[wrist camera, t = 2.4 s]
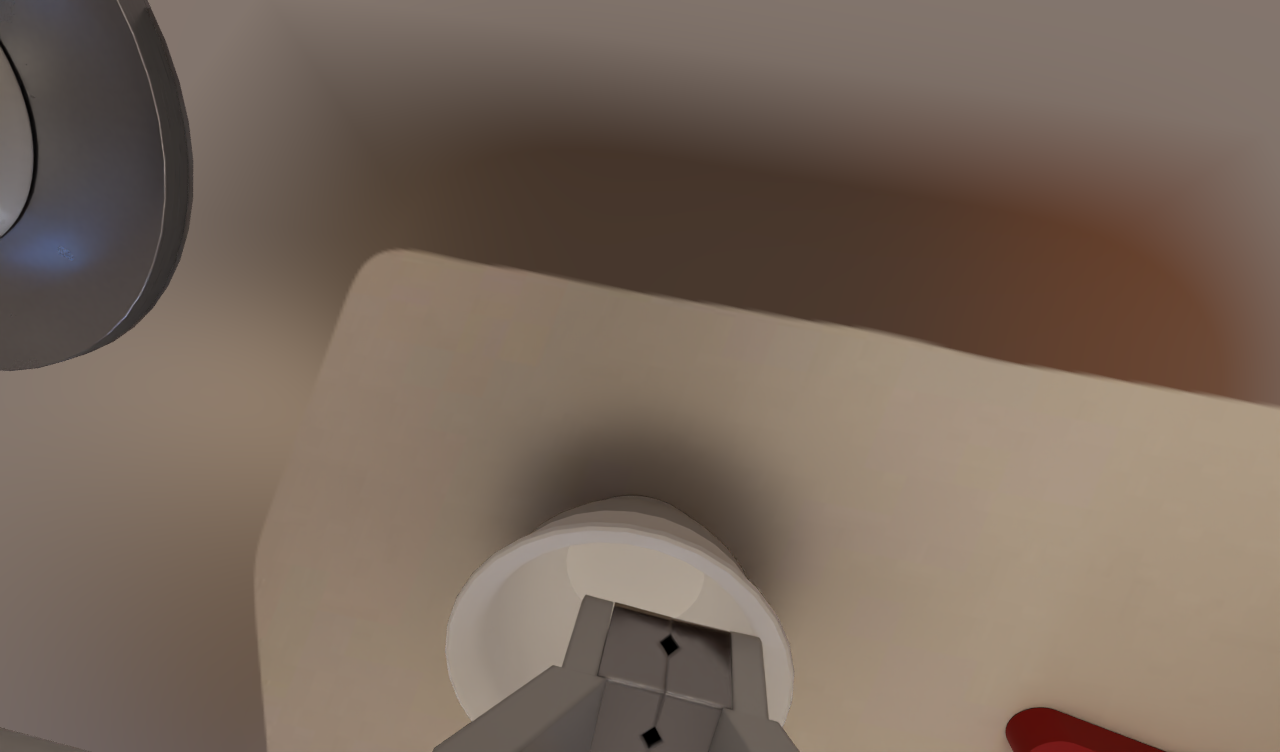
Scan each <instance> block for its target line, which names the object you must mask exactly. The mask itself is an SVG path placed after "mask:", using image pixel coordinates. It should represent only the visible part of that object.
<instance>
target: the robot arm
mask: <svg viewBox="0 0 1280 752" xmlns="http://www.w3.org/2000/svg"><path fill="white" fill-rule="evenodd" d="M32 174H33V141H32V132H31V126H30V121H29V117H28V112H27V108H26V105H25V102H24V98H23V95H22V92H21V89H20V87H19V84H18V82H17V79H16V77H15V74H14V72H13V70H12V68H11V66H10V63H9V61H8V59H7V57H6V56H5V54H4V52H3V50H2V48H1V46H0V237H1V236H2V235H3V234H5V233H6V232H7V231H8V230H9V229H10V228H11V226H12V225H13V224H14V223H15V221H16V220H17V218H18V217H19V215H20V213H21V212H22V209H23V207H24V205H25V203H26V200H27V197H28V194H29V190H30V186H31V181H32ZM613 605H614V608H613ZM612 609H613V612H612ZM611 614H612V616H611ZM610 618H611V620H610ZM609 623H610V624H609ZM607 632H608V633H607ZM0 752H90V751H87V750H83V749H79V748H76V747H72V746H68V745H64V744H60V743H57V742H53V741H49V740H46V739H42V738H38V737H34V736H31V735H27V734H23V733H20V732H15V731H12V730H8V729H5V728H1V727H0ZM433 752H800V751H799V750H798V749H797V747H796V746H795V744H794V743H793V742H792V740H791V739H790V738H789V736H788V735H787V733H786V732H785V731H784V729H783V728H782V727H781V725H780V724H779V722H777V721H773V720H769V715H768V704H767V692H766V681H765V670H764V659H763V648H762V641H761V640H760V638H759V637H756V636H752V635H747V634H743V633H738V632H734V631H726V630H722V629H718V628H714V627H710V626H706V625H701V624H697V623H693V622H689V621H685V620H681V619H676V618H672V617H669V616H665V615H661V614H658V613H654V612H650V611H647V610H643V609H639V608H636V607H632V606H628V605H625V604H621V603H617V602H615V604H614V603H613V602H612V601H608V600H604V599H601V598H597V597H593V596H589V595H585V596H584V598H583V600H582V603H581V606H580V609H579V612H578V615H577V619H576V622H575V625H574V628H573V632H572V635H571V638H570V641H569V645H568V648H567V651H566V654H565V658H564V661H563V664H562V667H559V666H555V665H552V666H551V667H549V668H548V669H546V670H545V671H544V672H542V673H541V674H539V675H538V676H536V677H535V678H534V679H532V680H531V681H529V682H528V683H526V684H525V685H524V686H522V687H521V688H519V689H518V690H516V691H515V692H513V693H512V694H511V695H509V696H508V697H506V698H505V699H503V700H502V701H501V702H499V703H498V704H496V705H495V706H493V707H492V708H491V709H489V710H488V711H486V712H485V713H483V714H482V715H481V716H479V717H478V718H476V719H475V720H473V721H472V722H471V723H469V724H468V725H466V726H465V727H463V728H462V729H461V730H459V731H458V732H456V733H455V734H453V735H452V736H451V737H449V738H448V739H446V740H445V741H443V742H442V743H441V744H439V745H438V746H436V747H435V748H434V749H433Z"/></svg>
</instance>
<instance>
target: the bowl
mask: <svg viewBox="0 0 1280 752" xmlns="http://www.w3.org/2000/svg"><path fill="white" fill-rule="evenodd" d="M585 595H589V596H593V597H597V598H601V599H604V600H608V601H612V602H613V603H614V604H615V602H617V603H621V604H625V605H628V606H632V607H636V608H639V609H643V610H647V611H650V612H654V613H658V614H661V615H665V616H669V617H672V618H676V619H681V620H685V621H689V622H693V623H697V624H701V625H706V626H710V627H714V628H718V629H722V630H726V631H734V632H738V633H743V634H747V635H752V636H756V637H759V638H760V640H761V641H762V648H763V659H764V670H765V681H766V692H767V704H768V715H769V720H773V721H777V722H779V724H780V725H781V727H782V728H783V726H784V723H785V720H786V717H787V714H788V712H789V709H790V706H791V703H792V695H793V683H794V667H793V661H792V655H791V649H790V644H789V641H788V639H787V637H786V634H785V632H784V630H783V628H782V625H781V623H780V621H779V618H778V616H777V614H776V613H775V612H774V610H773V609H772V608H771V606H770V605H769V604H768V602H767V601H766V599H765V598H764V597H763V595H762V594H761V593H760V591H759V590H758V589H757V588H756V587H755V586H754V585H753V584H752V583H751V582H750V581H749V580H747V578H746V576H745V574H744V572H743V570H742V568H741V566H740V565H739V563H738V562H737V561H736V559H735V558H734V557H733V555H732V554H731V552H730V551H729V550H728V548H727V547H726V546H725V545H723V544H722V543H721V542H720V541H719V540H718V539H717V538H716V537H715V536H714V535H713V534H711V533H710V532H709V531H708V530H707V529H706V528H704V527H703V526H702V525H701V524H699V523H698V522H696V521H695V520H693V519H691V518H690V517H688V516H687V515H686V514H685V513H684V512H682V511H680V510H679V509H677V508H676V507H674V506H672V505H670V504H668V503H665V502H663V501H660V500H658V499H653V498H649V497H644V496H628V495H627V496H619V497H612V498H609V499H606V500H601V501H595V502H591V503H588V504H585V505H582V506H579V507H576V508H573V509H570V510H567V511H564V512H562V513H560V514H558V515H556V516H555V517H553V518H551V519H549V520H548V521H546V522H544V523H542V524H541V525H540V526H539V527H538V528H537V529H536V530H535V531H533V532H532V533H531V534H530V535H527V536H524V537H522V538H520V539H518V540H516V541H514V542H513V543H511V544H509V545H507V546H506V547H504V548H502V549H500V550H499V551H497V552H495V553H494V554H493V555H492V556H491V557H489V558H488V559H487V560H486V561H485V562H484V563H483V564H482V565H481V566H480V567H478V568H477V569H476V570H475V571H474V572H473V573H472V574H471V576H470V577H469V579H468V580H467V582H466V583H465V585H464V586H463V588H462V589H461V591H460V592H459V594H458V595H457V598H456V600H455V603H454V606H453V609H452V612H451V615H450V617H449V620H448V624H447V635H446V647H445V654H446V660H447V667H448V673H449V678H450V681H451V683H452V686H453V688H454V691H455V693H456V696H457V698H458V701H459V703H460V705H461V706H462V708H463V709H464V711H465V712H466V714H467V715H468V717H469V719H470V720H471V722H472V721H473V720H475V719H476V718H478V717H479V716H481V715H482V714H483V713H485V712H486V711H488V710H489V709H491V708H492V707H493V706H495V705H496V704H498V703H499V702H501V701H502V700H503V699H505V698H506V697H508V696H509V695H511V694H512V693H513V692H515V691H516V690H518V689H519V688H521V687H522V686H524V685H525V684H526V683H528V682H529V681H531V680H532V679H534V678H535V677H536V676H538V675H539V674H541V673H542V672H544V671H545V670H546V669H548V668H549V667H551V666H552V665H555V666H559V667H562V664H563V661H564V658H565V654H566V651H567V648H568V645H569V641H570V638H571V635H572V632H573V628H574V625H575V622H576V619H577V615H578V612H579V609H580V606H581V603H582V600H583V598H584V596H585ZM613 608H614V605H613ZM612 612H613V609H612ZM611 616H612V614H611ZM610 620H611V618H610ZM609 624H610V623H609ZM607 633H608V632H607Z"/></svg>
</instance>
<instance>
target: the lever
mask: <svg viewBox="0 0 1280 752" xmlns="http://www.w3.org/2000/svg"><path fill="white" fill-rule="evenodd" d="M1006 737H1007V740H1008V742H1009V744H1010V746H1011V748H1012V750H1013V752H1164V751H1162V750H1159V749H1157V748H1154V747H1151V746H1149V745H1146V744H1143V743H1141V742H1138V741H1135V740H1133V739H1130V738H1128V737H1125V736H1122V735H1120V734H1117V733H1114V732H1112V731H1109V730H1106V729H1104V728H1101V727H1099V726H1096V725H1093V724H1091V723H1088V722H1085V721H1083V720H1080V719H1077V718H1075V717H1072V716H1069V715H1067V714H1064V713H1062V712H1059V711H1056V710H1053V709H1049V708H1033V709H1028V710H1025V711H1022V712H1020V713H1018V714H1017V715H1015V716H1014V717H1013V718H1012V719H1011V720H1010V721H1009V723H1008V725H1007V727H1006Z"/></svg>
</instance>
